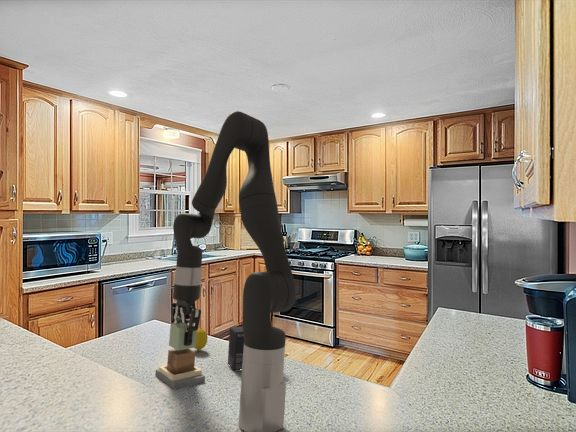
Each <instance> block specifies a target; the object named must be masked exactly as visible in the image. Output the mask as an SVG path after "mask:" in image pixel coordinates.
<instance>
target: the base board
mask: <svg viewBox="0 0 576 432" xmlns="http://www.w3.org/2000/svg"><path fill="white" fill-rule="evenodd" d="M202 371H203V370H202V369H201V368H199V367H197V366H196V365H194V371H190V372H185V373H181V374H176V375H174V374H172V373H171V372H169V371H168V370H167V364H166V365H162V366H159V367H158V368H157V369H155V376H157V377H158V378H159V379H160V380H161V381H162V382H164V383H165V384H167V385H168V386H169V387H171V389H173V390H177V389H181V388H185V387H189V386H193V385H197V384H200V383H204V382H205V381H206V375H204V374H203V373H202Z"/></svg>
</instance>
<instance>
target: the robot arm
mask: <svg viewBox="0 0 576 432" xmlns="http://www.w3.org/2000/svg"><path fill="white" fill-rule="evenodd" d="M235 149H236V150H239V151H242V152H245V154H246V159H247V168H248V171H247V174H246V176H245V179H244V181H243V183H242V185H241V188H240V190H239V193H238V203H239V212H240V219H241V222H242V225H243V227H244V228H245V230H246V232H247V234H248V235H249V236H250V238H251V239H252V240H253V242H254V243H255V245H256V246H257V247H258V249H259V251H260V253H261V255H262V259H263V261H264V267H265V271H253V272H252V273H250V274H249V275H248V276H247V278H246V280H245V282H244V285H243V290H242V291H243V293H242V321H241V322H242V323H241V324H242V326H241V327H243V332H244V350H243V364H242V371H241V380H240V392H239V393H240V395H239V396H240V397H239V409H238V410H239V411H238V412H239V413H238V427H239V428H240V429H241V430H242V431H243V430H244V431H243V432H278V431H280V430H282V429H284V426H285V425H284V424H285V408H286V393H287V392H286V391H287V389H286V388H287V384H286V382H284V369H285V355H286V354H285V353H286V351H285V350H286V339H287V336H286V332H285V331H284V330H283V329H281V328H278V327H275V326H273V325H272V317H271V315H272V314H273V313H282V312H283V313H284V312H288V311H289V310H291V309H292V307H293V306H294V304H295V301H296V295H297V294H296V293H297V292H296V284H295V279H294V275H293V271H292V268H291V264H290V260H289V257H288V253H287V250H286V245H285V242H284V241H285V240H284V237H283V231H282V227H281V222H280V216H279V208H278V202H277V196H276V193H275V192H276V191H275V187H274V181H273V175H272V173H273V172H272V167H271V166H272V165H271V158H270V143H269V133H268V129H267V126H266V124H265V123H264V122H263V121H261V120H260V119H258V118H255V117H253V116H251V115H249V114H247V113H245V112H243V111H239V110H236V111H232V112H231V113H230V114H228V116H227V117H226V119H225V120H224V122H223V124H222V126H221V128H220V131H219V133H218V136H217V140H216V143H215V146H214V147H213V151H212V154H211V157H210V161H209V164H208V166H207V169H206V171H205V174H204V176H203V179H202V180H201V182H200V184H199V186H198V188H197V190H196V192H195V194H194V196H193V197H192V200H191V205H192V207H193V209H194V210H196V211H197V212H198V214H196V213H187V212H181V213H179V214H178V215H177V216H176V217H175V218H174V220H173V225H172V229H173V236H174V241H175V247H176V254H177V255H176V264H175V271H174V275H173V276H174V279H173V290H172V300H175V302H171V304H170V316H171V317H170V321H171V323H170V324H175V323H183V324H184V327H185V335H184V345H185V346H189V345H191V344H192V336H193V331H195V330H198V329H199V325H200V320H201V314H202V310H201V309H197V308H196V301H198V300H200V298H201V289H202V288H201V287H202V286H201V285H202V262H203V250H202V248H201V247H199V246H196V245H193V242H192V239H203V238H205V237H207V236H208V234H209V233H210V232H211V229H212V226H213V220H214V218H215V212H216V210H217V208H218V206H219V204H220V202H221V200H222V199H223V197H224V195H225V192H226V190H227V181H228V179H227V178H228V177H227V176H228V174H227V167H228V161H229V158H230V156H231V154H232V153H233V151H234V150H235ZM188 323H189V325H188ZM194 325H195V326H194Z"/></svg>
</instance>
